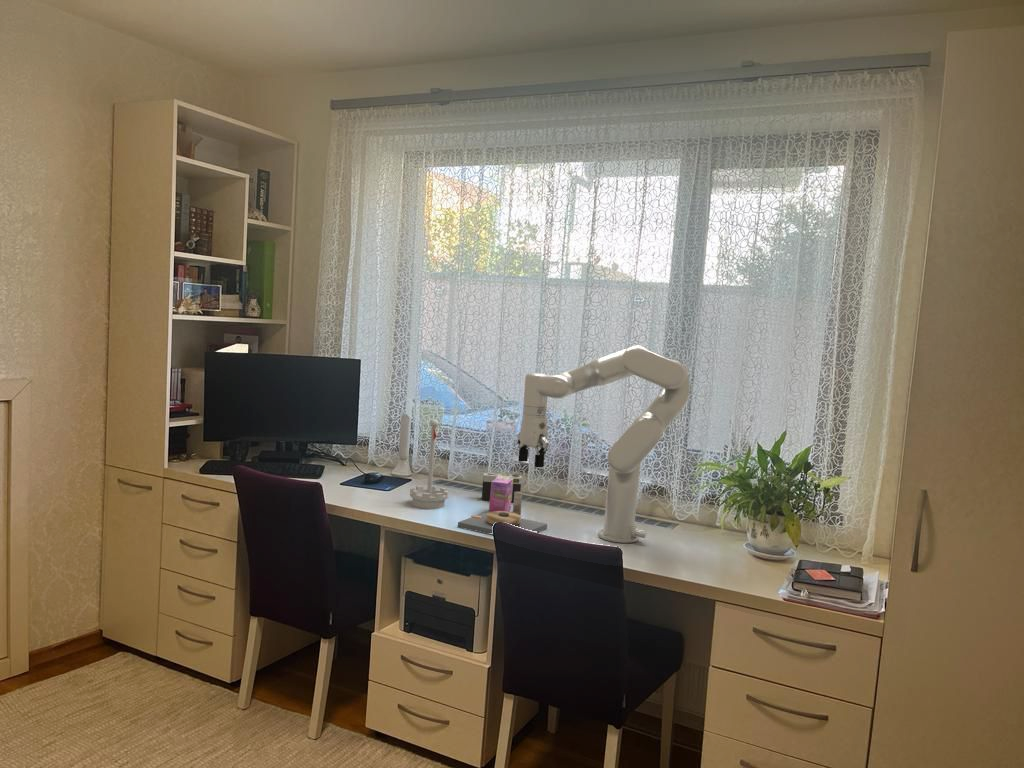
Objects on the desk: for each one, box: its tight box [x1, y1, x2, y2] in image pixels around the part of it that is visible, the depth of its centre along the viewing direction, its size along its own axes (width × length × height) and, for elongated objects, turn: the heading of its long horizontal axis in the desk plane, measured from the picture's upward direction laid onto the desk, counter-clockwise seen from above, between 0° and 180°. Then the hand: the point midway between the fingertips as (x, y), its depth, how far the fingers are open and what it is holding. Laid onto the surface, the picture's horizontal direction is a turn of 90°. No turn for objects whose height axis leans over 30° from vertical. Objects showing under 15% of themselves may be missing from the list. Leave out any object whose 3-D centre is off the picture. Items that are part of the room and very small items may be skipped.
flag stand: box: [409, 418, 449, 510], centre depth 278 cm, size 13×13×30 cm
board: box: [457, 510, 548, 534], centre depth 257 cm, size 22×21×2 cm
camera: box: [481, 472, 523, 504], centre depth 292 cm, size 14×8×10 cm, turn 92°
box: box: [488, 476, 513, 512], centre depth 274 cm, size 10×6×12 cm, turn 168°
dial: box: [486, 491, 523, 526], centre depth 258 cm, size 16×11×8 cm
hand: (530, 464), depth 259 cm, fingers open, 9 cm apart
